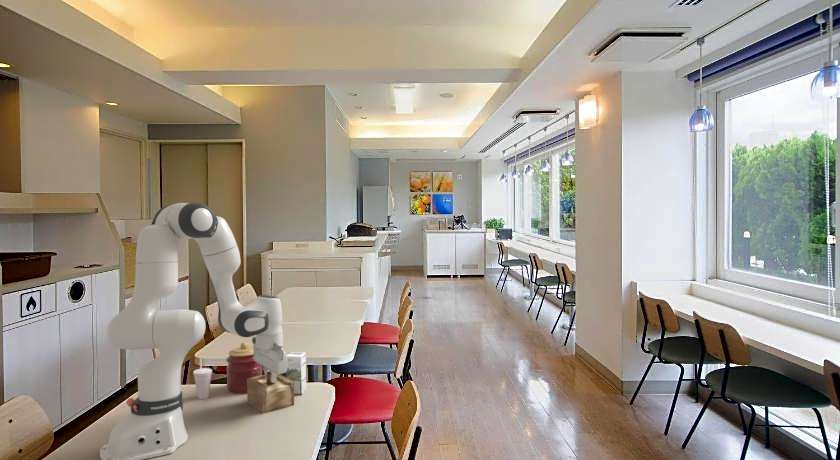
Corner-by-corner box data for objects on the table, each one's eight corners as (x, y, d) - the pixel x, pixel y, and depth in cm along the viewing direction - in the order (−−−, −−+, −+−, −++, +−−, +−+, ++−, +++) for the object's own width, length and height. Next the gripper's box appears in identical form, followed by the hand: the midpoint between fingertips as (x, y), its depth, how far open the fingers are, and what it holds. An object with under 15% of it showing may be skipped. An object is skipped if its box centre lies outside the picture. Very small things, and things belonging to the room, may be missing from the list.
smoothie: (196, 394, 191) (195, 357, 190) (214, 393, 192) (213, 355, 191) (191, 400, 184) (190, 362, 184) (210, 399, 185) (209, 361, 185)
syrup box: (306, 389, 195) (306, 351, 194) (301, 395, 189) (301, 356, 188) (292, 389, 195) (291, 351, 195) (286, 394, 189) (285, 355, 189)
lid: (266, 394, 173) (266, 379, 173) (252, 384, 183) (251, 370, 182) (290, 388, 178) (289, 373, 178) (274, 379, 188) (274, 365, 188)
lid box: (263, 413, 172) (263, 389, 172) (247, 401, 183) (246, 378, 183) (294, 405, 179) (293, 381, 179) (276, 394, 190) (276, 372, 190)
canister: (219, 391, 193) (218, 345, 193) (243, 380, 205) (242, 336, 204) (246, 396, 188) (245, 348, 188) (270, 384, 200) (269, 339, 199)
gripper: (291, 345, 174) (292, 386, 174) (266, 334, 190) (267, 371, 190) (273, 348, 170) (274, 390, 170) (249, 337, 186) (250, 375, 186)
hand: (270, 380), depth 180 cm, fingers closed on lid, 3 cm apart
